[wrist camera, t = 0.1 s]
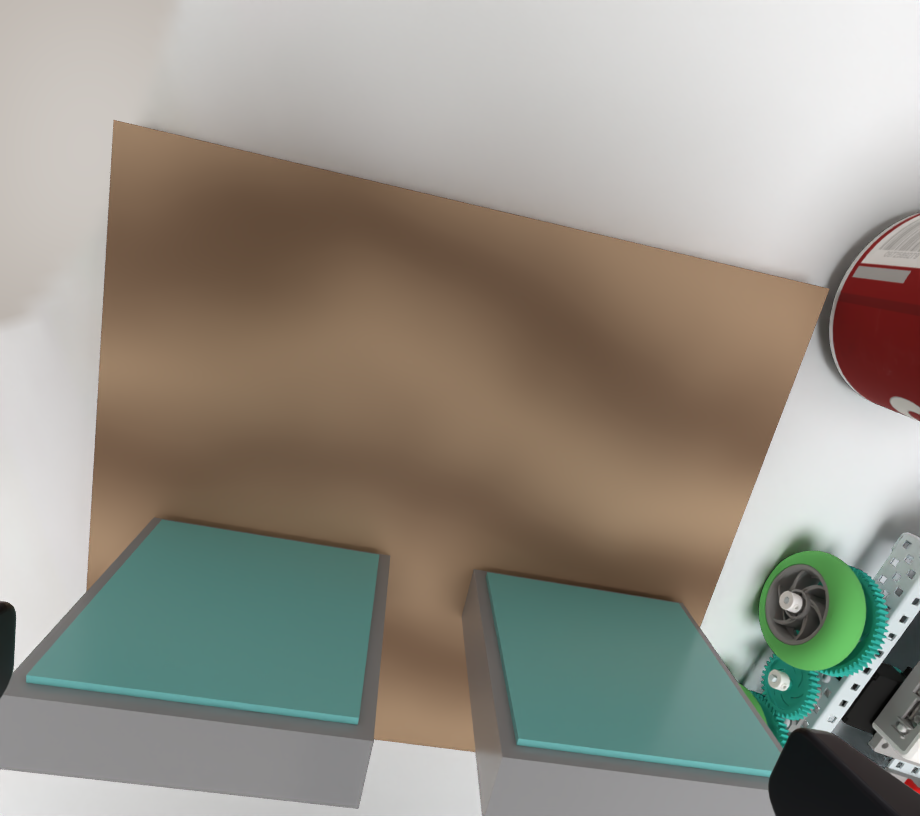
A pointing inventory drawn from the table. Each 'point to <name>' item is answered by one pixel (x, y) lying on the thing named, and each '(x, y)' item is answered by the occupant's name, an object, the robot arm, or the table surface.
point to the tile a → (210, 670)
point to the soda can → (882, 320)
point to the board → (425, 393)
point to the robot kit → (842, 652)
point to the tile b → (605, 707)
